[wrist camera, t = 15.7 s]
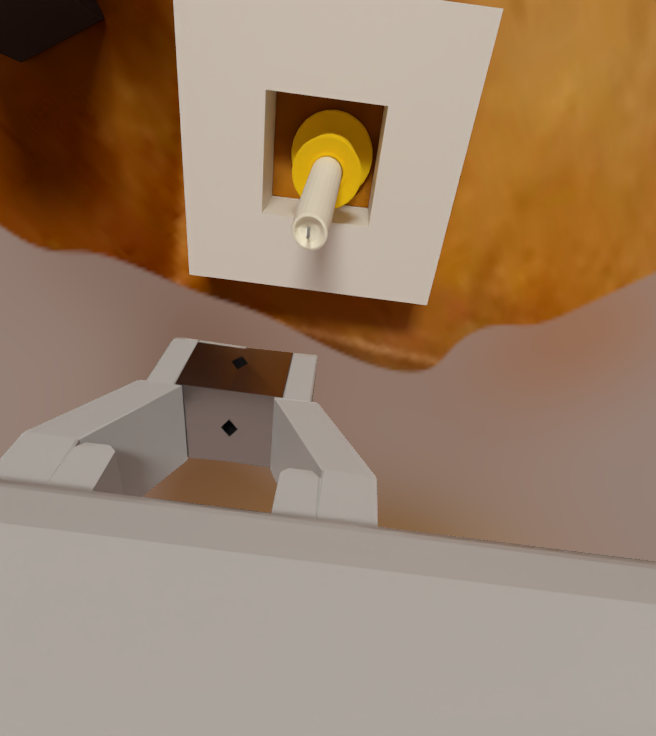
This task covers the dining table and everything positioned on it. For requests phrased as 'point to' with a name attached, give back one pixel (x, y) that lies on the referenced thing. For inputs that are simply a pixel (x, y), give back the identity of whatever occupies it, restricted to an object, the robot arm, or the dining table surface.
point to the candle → (326, 171)
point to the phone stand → (42, 24)
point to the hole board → (336, 81)
